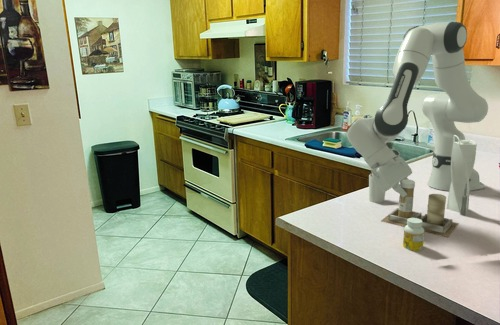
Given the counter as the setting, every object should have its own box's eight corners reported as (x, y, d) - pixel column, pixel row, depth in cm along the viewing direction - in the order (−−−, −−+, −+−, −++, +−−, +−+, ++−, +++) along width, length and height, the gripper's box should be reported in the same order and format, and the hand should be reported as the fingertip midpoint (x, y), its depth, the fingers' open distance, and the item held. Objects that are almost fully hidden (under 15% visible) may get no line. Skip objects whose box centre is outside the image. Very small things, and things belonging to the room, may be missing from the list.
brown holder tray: (380, 225, 134) (380, 216, 134) (394, 213, 144) (395, 204, 143) (447, 242, 121) (448, 231, 120) (458, 227, 131) (459, 218, 130)
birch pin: (437, 222, 132) (439, 193, 130) (446, 228, 127) (449, 198, 125) (423, 223, 131) (425, 194, 129) (431, 229, 127) (434, 199, 124)
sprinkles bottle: (395, 216, 137) (397, 179, 134) (407, 215, 138) (410, 178, 134) (401, 222, 133) (404, 183, 129) (414, 221, 133) (417, 182, 130)
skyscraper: (439, 213, 143) (447, 136, 136) (449, 207, 148) (457, 132, 141) (463, 220, 137) (473, 139, 130) (474, 213, 142) (483, 136, 135)
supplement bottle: (425, 255, 114) (428, 224, 111) (406, 255, 114) (409, 224, 111) (418, 246, 119) (420, 216, 116) (399, 247, 119) (402, 216, 117)
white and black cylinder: (364, 200, 158) (365, 176, 155) (372, 196, 162) (374, 172, 160) (380, 204, 153) (381, 179, 151) (388, 199, 158) (390, 175, 155)
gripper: (375, 161, 126) (404, 196, 123) (399, 149, 142) (425, 180, 138) (361, 172, 130) (389, 207, 127) (386, 159, 145) (411, 190, 142)
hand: (408, 193), depth 132 cm, fingers closed on sprinkles bottle, 4 cm apart
